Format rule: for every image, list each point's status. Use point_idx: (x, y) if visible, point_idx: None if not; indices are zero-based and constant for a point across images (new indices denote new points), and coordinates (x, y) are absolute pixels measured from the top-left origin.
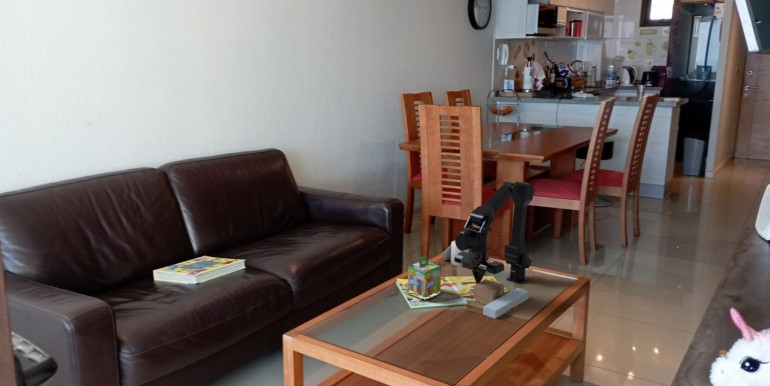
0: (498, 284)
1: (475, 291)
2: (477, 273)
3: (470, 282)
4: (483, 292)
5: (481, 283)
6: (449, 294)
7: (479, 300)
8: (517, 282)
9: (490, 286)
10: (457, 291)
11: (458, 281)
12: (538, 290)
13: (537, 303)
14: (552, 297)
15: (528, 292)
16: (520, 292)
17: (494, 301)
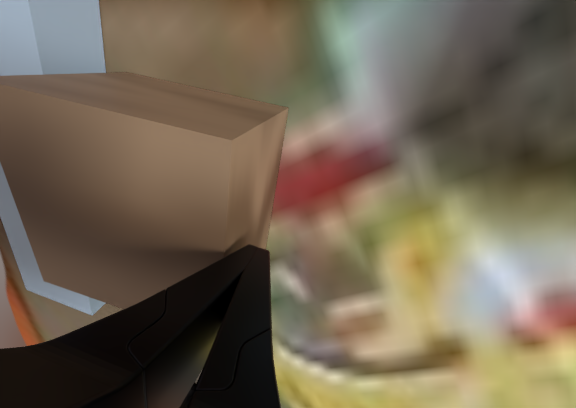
0: (70, 269)
1: (235, 119)
2: (146, 353)
3: (406, 367)
4: (126, 97)
5: (193, 242)
6: (548, 140)
7: (223, 96)
8: (192, 387)
9: (82, 202)
10: (472, 227)
11: (495, 369)
12: None
13: None
14: (29, 300)
15: (26, 281)
16: None
17: (23, 27)
